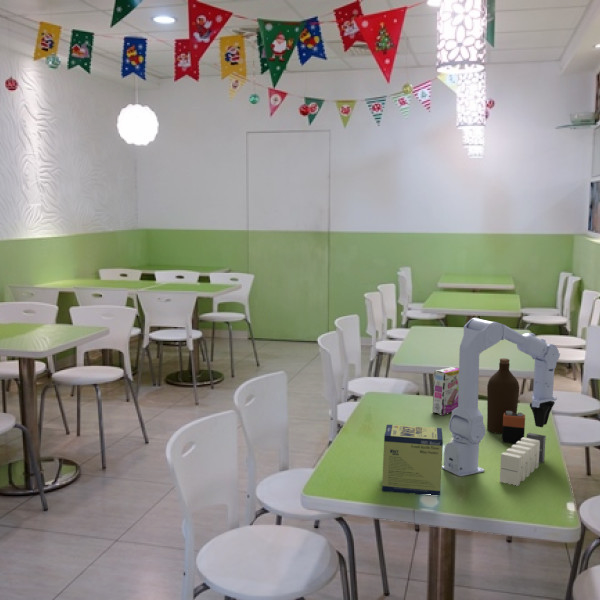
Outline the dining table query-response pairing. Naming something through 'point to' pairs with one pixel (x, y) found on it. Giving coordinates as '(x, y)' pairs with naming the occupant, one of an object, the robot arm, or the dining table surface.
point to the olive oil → (501, 396)
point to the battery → (513, 427)
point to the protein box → (412, 459)
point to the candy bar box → (445, 390)
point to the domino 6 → (542, 444)
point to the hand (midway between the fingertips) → (541, 425)
